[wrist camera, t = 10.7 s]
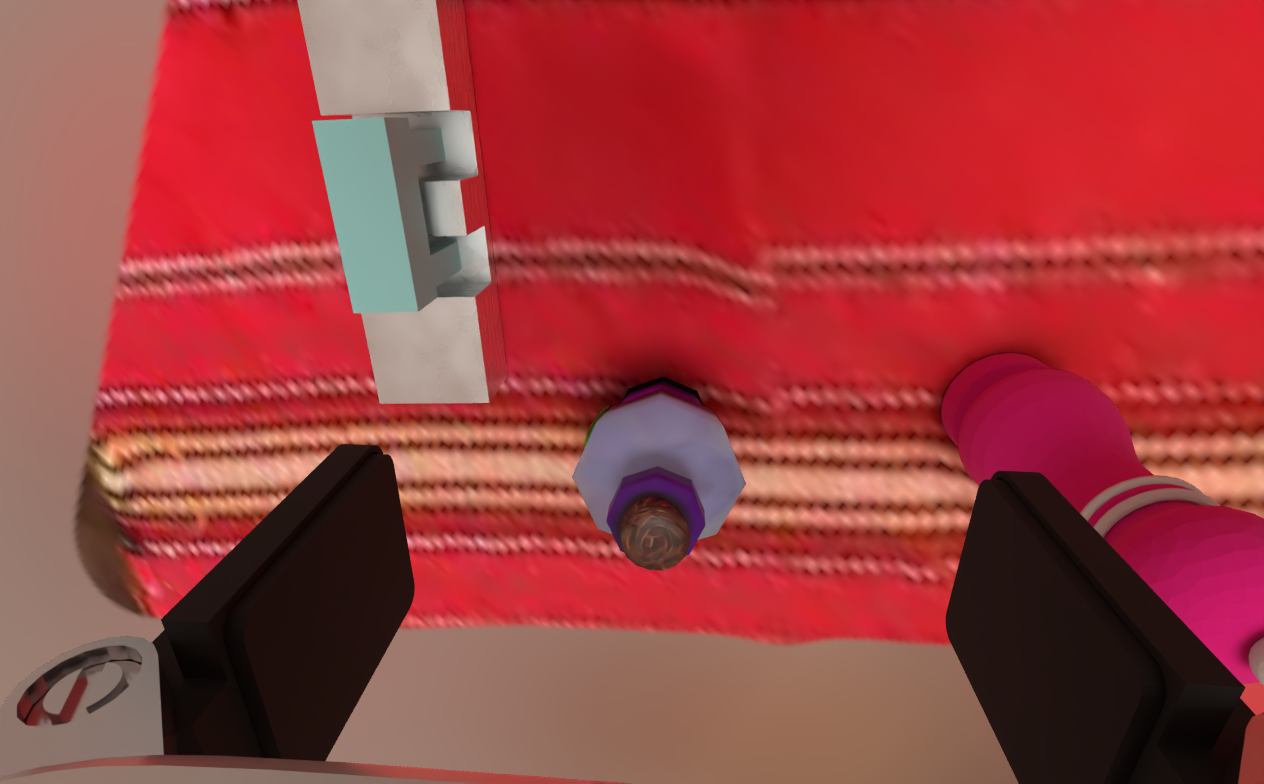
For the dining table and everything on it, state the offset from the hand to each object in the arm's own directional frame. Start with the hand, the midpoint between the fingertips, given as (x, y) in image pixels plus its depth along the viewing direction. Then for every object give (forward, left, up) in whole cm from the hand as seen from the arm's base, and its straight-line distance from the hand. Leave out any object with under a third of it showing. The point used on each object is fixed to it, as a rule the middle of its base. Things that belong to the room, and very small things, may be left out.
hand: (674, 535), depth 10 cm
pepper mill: (+9, +18, -26) cm, 33 cm away
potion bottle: (+10, -1, -26) cm, 28 cm away
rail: (-3, -13, -26) cm, 29 cm away
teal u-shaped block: (-3, -13, -25) cm, 28 cm away
